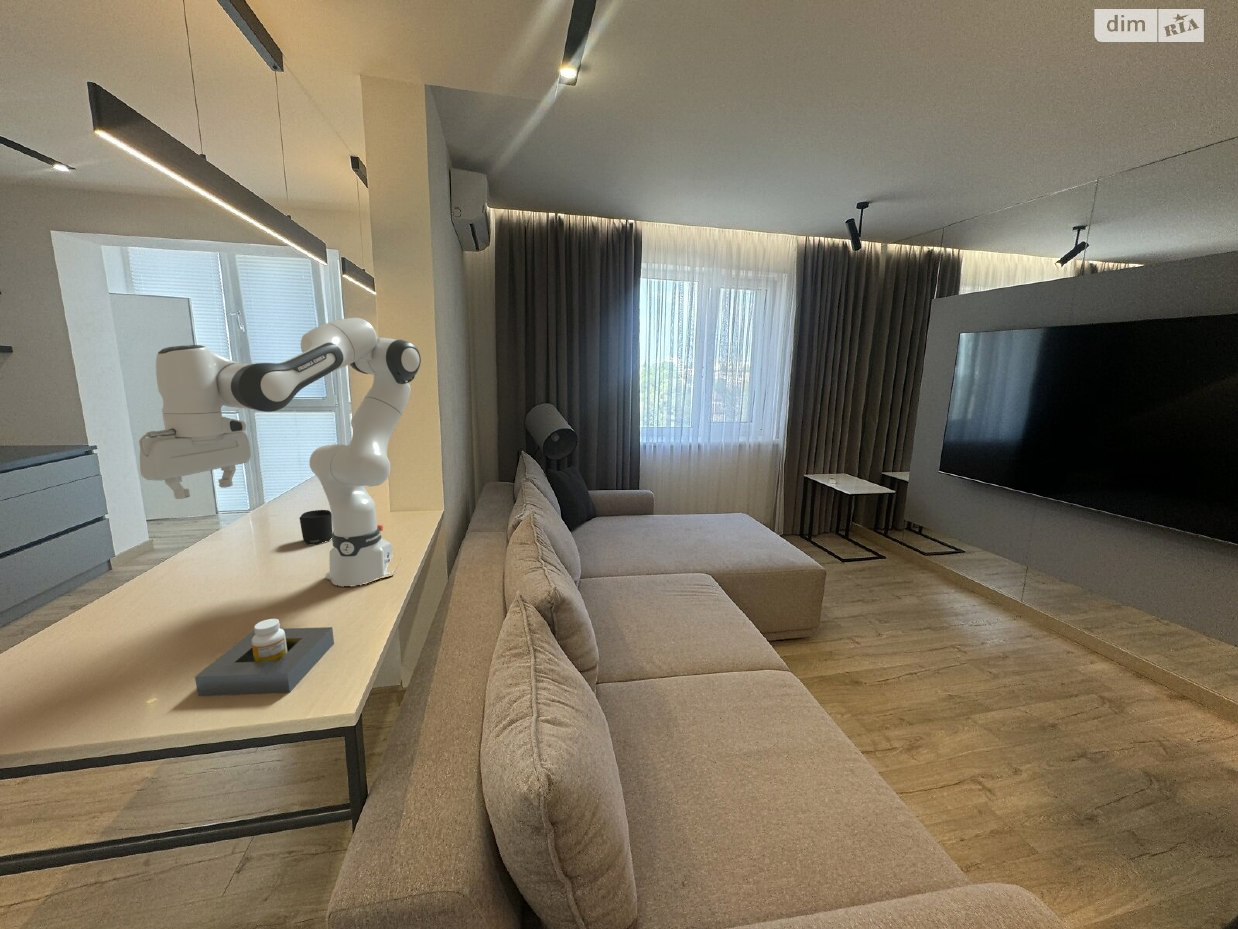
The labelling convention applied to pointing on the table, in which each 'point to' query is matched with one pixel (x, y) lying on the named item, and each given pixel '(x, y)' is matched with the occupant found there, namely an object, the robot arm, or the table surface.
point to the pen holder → (316, 526)
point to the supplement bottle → (268, 641)
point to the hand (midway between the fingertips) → (205, 492)
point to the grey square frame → (265, 665)
